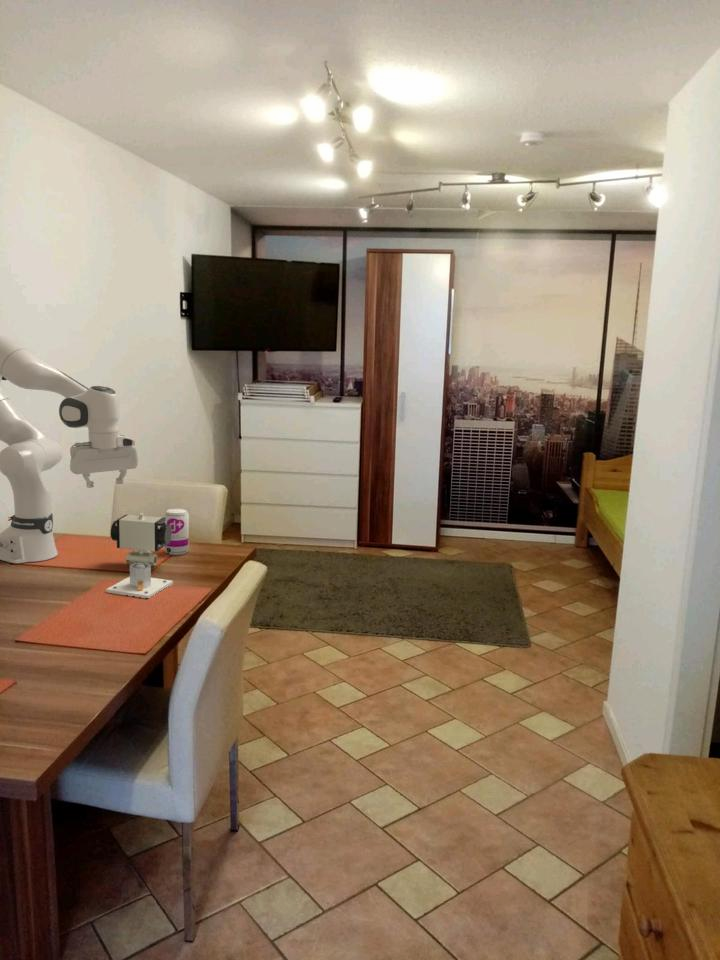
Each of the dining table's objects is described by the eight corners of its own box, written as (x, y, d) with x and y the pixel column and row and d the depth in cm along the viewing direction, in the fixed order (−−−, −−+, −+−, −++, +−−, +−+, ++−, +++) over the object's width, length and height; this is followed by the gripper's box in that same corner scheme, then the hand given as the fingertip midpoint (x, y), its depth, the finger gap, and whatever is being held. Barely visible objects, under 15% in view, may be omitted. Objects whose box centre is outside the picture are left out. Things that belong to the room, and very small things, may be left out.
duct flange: (106, 592, 215) (105, 569, 213) (132, 577, 228) (132, 556, 227) (148, 599, 211) (148, 576, 210) (173, 583, 225) (173, 562, 223)
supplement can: (185, 556, 252) (185, 514, 249) (161, 555, 252) (161, 513, 249) (191, 549, 260) (191, 508, 257) (168, 548, 260) (168, 507, 257)
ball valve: (173, 563, 244) (173, 511, 240) (164, 571, 235) (164, 518, 232) (121, 559, 245) (120, 507, 242) (110, 566, 237) (109, 514, 233)
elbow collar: (130, 582, 221) (130, 563, 220) (150, 581, 223) (150, 562, 222) (129, 591, 214) (129, 571, 213) (150, 590, 216) (150, 570, 214)
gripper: (74, 444, 210) (76, 491, 213) (140, 440, 224) (140, 483, 227) (65, 441, 215) (67, 487, 217) (130, 437, 229) (130, 480, 232)
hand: (105, 485), depth 222 cm, fingers open, 8 cm apart
